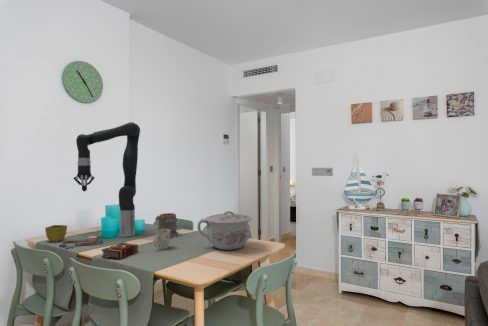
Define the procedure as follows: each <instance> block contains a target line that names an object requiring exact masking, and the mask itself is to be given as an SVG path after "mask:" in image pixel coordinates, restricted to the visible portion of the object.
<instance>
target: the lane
mask: <svg viewBox="0 0 488 326" xmlns="http://www.w3.org/2000/svg"><path fill="white" fill-rule="evenodd" d="M96 236H97V242H89V243H88V238H87V240H86V242H79V240H80V239H73V240H71V239H70V240H61V242H62V244H59V245H58V248H59V247H63V248H65V247H66V246H68V245H67V244H65V243H69V244H74V247H75V246H76V247H86V246H88V247H89V246H96V245H97V246H98V245H100V246H101V243H102V241H103V240H102V239H103V235H102V232H98V233H97V235H96Z"/></svg>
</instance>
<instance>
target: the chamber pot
mask: <svg viewBox="0 0 488 326" xmlns="http://www.w3.org/2000/svg"><path fill="white" fill-rule="evenodd" d="M252 220H253V217H251V216H250V215H246V214H241V213H234V212H233V211H224V212H223V213H219V214H218V213H217V214H213V215H208V216H206V217H205V218H201V219H200V220H199V221H198V223H197V227H196V228H197V231H198V232H199V234H200V235H202V236H203V237H204V238H206V239H207V240H208V241H209V243H210V244H212V247H214V248H216V249H218V250H222V251H233V250H234V251H235V250H238V249H241V248H243V247H244V246H245V245H246V243H247V241H248V240H249V236H250V232H251V226H250V224H249V222H250V221H252ZM203 223H204V224H206V229H207V231H206V232H207V234H206V233H204V232H203V230H202V229H201V224H203Z"/></svg>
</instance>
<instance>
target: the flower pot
mask: <svg viewBox="0 0 488 326" xmlns="http://www.w3.org/2000/svg"><path fill="white" fill-rule="evenodd" d="M44 229H45V235H46V238H47V240H48V241H49V242H51V241H52V242H55V243H57V242H62V241H64V239H65V236H66V234H67V229H68V225H64V224H62V225H61V224H54V225H49V226H46V227H45V228H44Z"/></svg>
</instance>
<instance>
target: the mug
mask: <svg viewBox="0 0 488 326" xmlns="http://www.w3.org/2000/svg"><path fill="white" fill-rule="evenodd" d="M170 238H171V237H170V230H169V229H159V230H158V229H155V236H154V239H153V247H155V248H157V249H158V250H167V249H169V245H170Z"/></svg>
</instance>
